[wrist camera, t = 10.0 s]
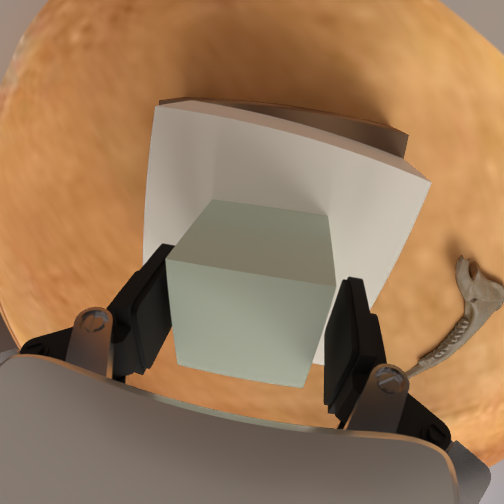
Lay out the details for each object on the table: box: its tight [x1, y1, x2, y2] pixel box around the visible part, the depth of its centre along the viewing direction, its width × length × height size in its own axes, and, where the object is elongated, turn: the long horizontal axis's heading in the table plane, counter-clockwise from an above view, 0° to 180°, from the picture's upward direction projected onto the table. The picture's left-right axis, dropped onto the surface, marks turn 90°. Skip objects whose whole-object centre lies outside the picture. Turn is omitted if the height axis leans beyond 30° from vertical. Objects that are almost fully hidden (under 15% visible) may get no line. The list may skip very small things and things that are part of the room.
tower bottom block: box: [159, 97, 409, 159], centre depth 20 cm, size 14×14×4 cm
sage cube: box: [165, 199, 337, 388], centre depth 12 cm, size 5×5×5 cm
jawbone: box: [405, 255, 504, 379], centre depth 25 cm, size 9×20×2 cm, turn 176°
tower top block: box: [143, 100, 432, 365], centre depth 16 cm, size 12×12×4 cm
